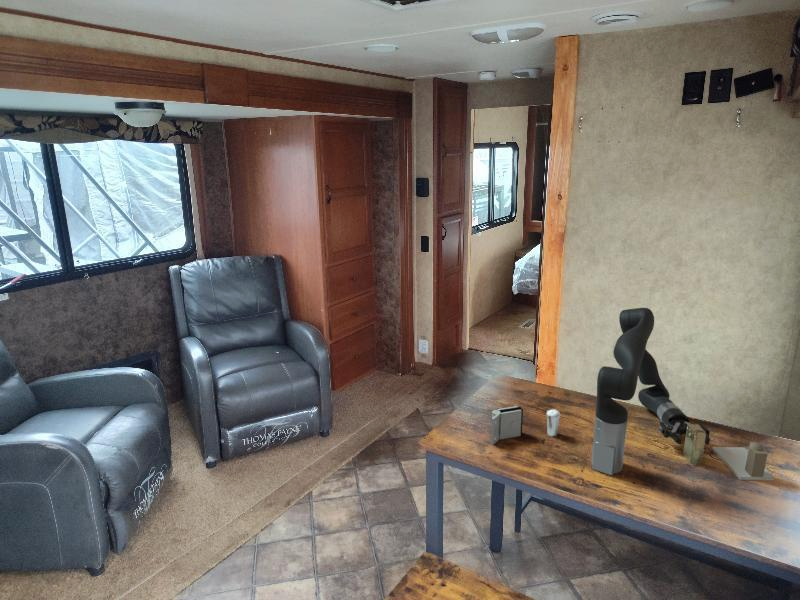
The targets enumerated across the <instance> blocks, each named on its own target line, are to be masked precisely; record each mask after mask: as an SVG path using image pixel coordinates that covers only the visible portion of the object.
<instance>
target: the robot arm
mask: <svg viewBox="0 0 800 600" xmlns="http://www.w3.org/2000/svg"><path fill="white" fill-rule="evenodd" d="M618 318H619V327H620V330H621V332H622V334H621V335H619V337H618V339H616V342H615V345H614V349H613V357H614V359H615V361H616V363H617V364H618V365H619V367H620V368H618V367H612V366H608V365H607V366H605V365H604V366H601V368H600V369H599V370H598V374H597V382H596V406H595V415H594V417H595V419H594V427H593V429H594V430H593V439H592V451H591V462H590V463H591V469H592V470H594V471H597V472H601V473H603V474H606V475H609V476H613V475H615V474H618V473H620V472H621V471H622V470H623V465H624V456H625V455H624V454H625V445H626V438H627V437H626V436H627V428H628V426H627V425H628V419H629V411H628V410H627V408H626V407H625V406H623V405H622V404H620V403H618V402H617V401H615V400H619V401H631V400H632V399H633V398H634V396H635V393H636V391H637V385H638V380H639V382H640V383H641V384H642V385H644V386H648V387H646V388H642V389H641V390H640V389H639V392H638V397H637V398H638V400H639V402H640V403H641V405H642V406H644V408H646V409H647V410H649V411H652V412H653V413H655V414H656V415H657V417H658V419H659V420H660V422H659V428H658V430H659V431H660V433H661V434H662V436H663V438H666V439H668V438H670V439H671V440H673V442H675V443H676V444H677V445H682V437H681V436H686V430H687V424H693V423H692V422H691V421H690V419H689V418H688V416H687V414H685V413H684V412H683V410H681V409H680V407H679V406H678V405H676V404H675V403H674V402H673V401H672V399H670V393H669V390H668V388H667V387H666V386H665V384H664V383H663V381H662V379H661V377H660V374H659V370H658V365H657V362H656V360H655V358H654V356H653V355H652V354H651V353H650V352H649V351H648V350H647V344H648V340H649V338H650V336H651V334H652V332H653V330H654V327H655V316H654V312H653V311H652V309H650V308H648V307H635V308H629V309H623V310H621V311H620V313H619V317H618ZM697 424H698V425H699V426H700V427H701V428H702V429H703V430H704V431H705V432H706V437H705V444H704V445H706V446H708V445H709V444H710V442H711V438H710V433H711V430H709V428H707V426H706V425H704V424H703V423H702V422H698V423H697Z"/></svg>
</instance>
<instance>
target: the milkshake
mask: <svg viewBox="0 0 800 600" xmlns="http://www.w3.org/2000/svg"><path fill="white" fill-rule="evenodd" d="M544 407H545V410H546V424H547V425H546V427H547V428H546V429H547V433H546V434H547V435H548V436H550V437H557V435H558V429H559V422H560V418H561V413H560V411H559V410H558V409H556V408H555V409H549V410H548V408H547V405H545V406H544Z"/></svg>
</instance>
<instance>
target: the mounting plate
mask: <svg viewBox="0 0 800 600" xmlns="http://www.w3.org/2000/svg"><path fill="white" fill-rule="evenodd" d="M712 451H713V452H714V453H715V454H716V455H717V457H718V458H719V459H720V460H721V461H722V462H723V463H724V464H725V466H726V467H727V468H728V469H729V470H730V471H731V472H732V473H733V474H734V475H735V477H736V478H737V479H738V480H739V481H744V480H745V481H775V478H776V477H775V476H774V475H773V474H772V473H771V472H770V471H769V470H768V469H767V468H766V463H767V458H768V452H766V451H765V449H763V445H762V444H761V443H759V442H757V441H750V442H749V446H748V450H747V449H746V447H745V446H743V447H740V446H737V447H736V446H735V447H734V446H723V447H722V446H713V447H712Z"/></svg>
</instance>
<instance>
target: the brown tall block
mask: <svg viewBox="0 0 800 600" xmlns="http://www.w3.org/2000/svg"><path fill="white" fill-rule="evenodd" d="M705 437H706V432H705V431H704V430H703V429H702V428H701V427H700V426H699V425H698V423H696V424H694V423H692V424H687V430H686V435H685V440H684V443H683V445H684V446H683V453H682V454H683V456H684V457H685V459H686V460H687V462H688V463H689V464H691V465H692V466H695V467H701V466H702V463H703V456H704V450H705V445H706V444H705Z"/></svg>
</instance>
